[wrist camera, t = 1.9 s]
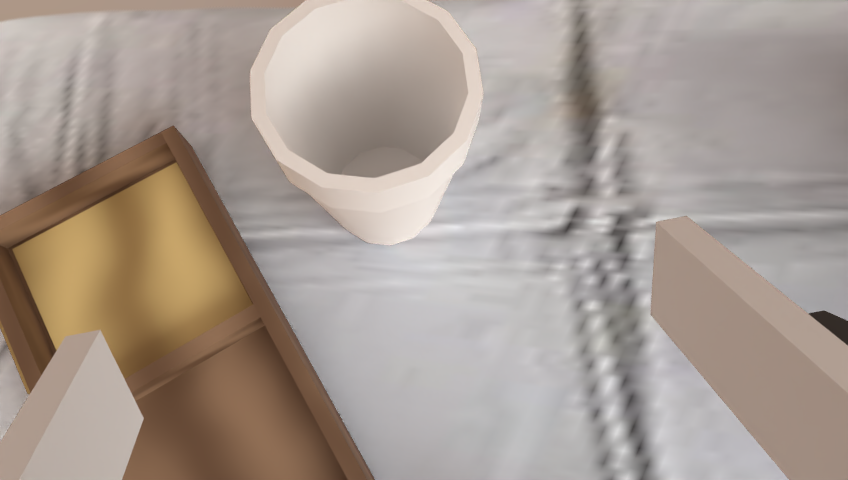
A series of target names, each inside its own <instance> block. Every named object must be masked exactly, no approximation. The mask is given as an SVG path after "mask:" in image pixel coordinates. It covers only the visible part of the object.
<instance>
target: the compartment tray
mask: <svg viewBox="0 0 848 480" xmlns="http://www.w3.org/2000/svg"><path fill="white" fill-rule="evenodd" d="M0 328H1V331H2V333H3V336H4V338H5V341H6V343H7V345H8V348H9V350H10V353H11V355H12V357H13V360H14V362H15V365H16V367H17V369H18V372H19V374H20V377H21V379H22V382H23V384H24V386H25V389H26V391H27V394H30V393H31V392H32V390H33V388H34V387H35V385H36V383H37V382H38V380H39V379H40V377H41V375H42V374H43V372H44V370H45V369H46V367H47V366H48V364H49V362H50V361H51V359H52V357H53V356H54V354H55V353H56V351H57V349H58V348H59V346H60V344H61V343H62V341H63V340H64V338H65V336H70V335H75V334H81V333H86V332H91V331H96V330H101V332H102V334H103V336H104V338H105V340H106V342H107V344H108V347H109V349H110V351H111V353H112V355H113V357H114V359H115V361H116V363H117V365H118V367H119V369H120V371H121V373H122V375H123V377H124V379H125V381H126V383H127V385H128V387H129V389H130V391H131V393H132V395H133V397H134V399H135V401H136V404H137V406H138V408H139V410H140V412H141V414H142V416H143V418H144V419H143V422H142V425H141V428H140V430H139V433H138V436H137V439H136V442H135V444H134V447H133V450H132V453H131V456H130V459H129V461H128V464H127V467H126V470H125V473H124V475H123V478H122V480H375V479H374V477H373V475H372V474H371V472H370V470H369V468H368V466H367V465H366V463H365V461H364V459H363V457H362V455H361V454H360V452H359V450H358V448H357V446H356V445H355V443H354V441H353V439H352V437H351V435H350V434H349V432H348V430H347V428H346V426H345V425H344V423H343V421H342V419H341V417H340V415H339V414H338V412H337V410H336V408H335V406H334V404H333V403H332V401H331V399H330V397H329V395H328V394H327V392H326V390H325V388H324V386H323V384H322V383H321V381H320V379H319V377H318V375H317V374H316V372H315V370H314V368H313V366H312V364H311V363H310V361H309V359H308V357H307V355H306V354H305V352H304V350H303V348H302V346H301V344H300V343H299V341H298V339H297V337H296V335H295V334H294V332H293V330H292V328H291V326H290V324H289V323H288V321H287V319H286V317H285V315H284V314H283V312H282V310H281V308H280V306H279V304H278V303H277V301H276V299H275V297H274V295H273V294H272V292H271V290H270V288H269V286H268V284H267V283H266V281H265V279H264V277H263V275H262V274H261V272H260V270H259V268H258V266H257V264H256V263H255V261H254V259H253V257H252V255H251V254H250V252H249V250H248V248H247V246H246V244H245V243H244V241H243V239H242V237H241V235H240V234H239V232H238V230H237V228H236V226H235V224H234V223H233V221H232V219H231V217H230V215H229V214H228V212H227V210H226V208H225V206H224V204H223V203H222V201H221V199H220V197H219V195H218V194H217V192H216V190H215V188H214V186H213V184H212V183H211V181H210V179H209V177H208V175H207V174H206V172H205V170H204V168H203V166H202V164H201V163H200V161H199V159H198V157H197V155H196V154H195V152H194V150H193V148H192V146H191V145H190V144H189V143H188V142H187V140H186V139H185V138H184V137H183V136H182V135H181V134H180V132H179V131H178V130H177V129H176V128H175V127H174V126H172V127H170V128H168V129H166V130H164V131H162V132H160V133H158V134H156V135H154V136H152V137H150V138H148V139H147V140H145V141H143V142H141V143H139V144H137V145H135V146H133V147H131V148H129V149H127V150H125V151H123V152H122V153H120V154H118V155H116V156H114V157H112V158H110V159H108V160H106V161H104V162H102V163H100V164H98V165H97V166H95V167H93V168H91V169H89V170H87V171H85V172H83V173H81V174H79V175H77V176H75V177H73V178H71V179H70V180H68V181H66V182H64V183H62V184H60V185H58V186H56V187H54V188H52V189H50V190H48V191H46V192H45V193H43V194H41V195H39V196H37V197H35V198H33V199H31V200H29V201H27V202H25V203H23V204H21V205H20V206H18V207H16V208H14V209H12V210H10V211H8V212H6V213H4V214H2V215H0Z"/></svg>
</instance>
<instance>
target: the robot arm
mask: <svg viewBox="0 0 848 480" xmlns="http://www.w3.org/2000/svg"><path fill="white" fill-rule="evenodd" d="M650 315H651V316H652V317H653V318H654V319H655V321H656V322H657V323H658V324H659V325H660V326H661V328H662V329H663V330H664V331H665V332H666V334H667V335H668V336H669V337H670V338H671V340H672V341H673V342H674V343H675V344H676V346H677V347H678V348H679V349H680V350H681V351H682V353H683V354H684V355H685V356H686V357H687V359H688V360H689V361H690V362H691V363H692V365H693V366H694V367H695V368H696V369H697V371H698V372H699V373H700V374H701V375H702V376H703V378H704V379H705V380H706V381H707V382H708V384H709V385H710V386H711V387H712V388H713V390H714V391H715V392H716V393H717V394H718V396H719V397H720V398H721V399H722V400H723V401H724V403H725V404H726V405H727V406H728V407H729V409H730V410H731V411H732V412H733V413H734V415H735V416H736V417H737V418H738V419H739V421H740V422H741V423H742V424H743V425H744V426H745V428H746V429H747V430H748V431H749V432H750V434H751V435H752V436H753V437H754V438H755V440H756V441H757V442H758V443H759V444H760V446H761V447H762V448H763V449H764V450H765V451H766V453H767V454H768V455H769V456H770V457H771V459H772V460H773V461H774V462H775V463H776V465H777V466H778V467H779V468H780V469H781V471H782V472H783V473H784V474H785V475H786V476H787V478H788V479H789V480H848V321H847V320H844V319H842V318H840V317H838V316H835V315H833V314H831V313H828V312H826V311H819V312H814V313H809V314H808V313H807V312H805V311H804V310H803V309H802V308H800V307H799V306H798V305H797V304H795V303H794V302H793V301H792V300H790V299H789V298H788V297H787V296H785V295H784V294H783V293H782V292H780V291H779V290H778V289H777V288H775V287H774V286H773V285H772V284H770V283H769V282H768V281H767V280H765V279H764V278H763V277H762V276H761V275H759V274H758V273H757V272H756V271H754V270H753V269H752V268H751V267H749V266H748V265H747V264H746V263H744V262H743V261H742V260H741V259H739V258H738V257H737V256H736V255H734V254H733V253H732V252H731V251H729V250H728V249H727V248H726V247H724V246H723V245H722V244H721V243H719V242H718V241H717V240H716V239H714V238H713V237H712V236H711V235H710V234H708V233H707V232H706V231H705V230H703V229H702V228H701V227H700V226H698V225H697V224H696V223H695V222H693V221H692V220H691V219H690V218H688V217H687V216H684V217H679V218H674V219H668V220H663V221H658V222H656V234H655V250H654V266H653V282H652V298H651V314H650ZM143 419H144V418H143V416H142V414H141V412H140V410H139V408H138V406H137V404H136V401H135V399H134V397H133V395H132V393H131V391H130V389H129V387H128V385H127V383H126V381H125V379H124V377H123V375H122V373H121V371H120V369H119V367H118V365H117V363H116V361H115V359H114V357H113V355H112V353H111V351H110V349H109V347H108V344H107V342H106V340H105V338H104V336H103V334H102V332H101V330H96V331H91V332H86V333H81V334H75V335H70V336H65V338H64V340H63V341H62V343H61V344H60V346H59V348H58V349H57V351H56V353H55V354H54V356H53V357H52V359H51V361H50V362H49V364H48V366H47V367H46V369H45V370H44V372H43V374H42V375H41V377H40V379H39V380H38V382H37V383H36V385H35V387H34V388H33V390H32V392H31V393H30V395H29V396H28V398H27V400H26V401H25V403H24V405H23V406H22V408H21V409H20V411H19V413H18V414H17V416H16V418H15V419H14V421H13V422H12V424H11V426H10V427H9V429H8V431H7V432H6V434H5V435H4V437H3V439H2V440H1V442H0V480H122V478H123V475H124V473H125V470H126V467H127V464H128V461H129V459H130V456H131V453H132V450H133V447H134V444H135V442H136V439H137V436H138V433H139V430H140V428H141V425H142V422H143Z"/></svg>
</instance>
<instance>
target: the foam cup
mask: <svg viewBox="0 0 848 480" xmlns="http://www.w3.org/2000/svg"><path fill="white" fill-rule="evenodd" d="M250 94H251V118H252V120H253V122H254V124H255V125H256V127H257V129H258V130H259V132H260V134H261V136H262V137H263V139H264V141H265V142H266V144H267V146H268V147H269V149H270V151H271V152H272V154H273V156H274V157H275V159H276V161H277V162H278V164H279V165H280V167H281V169H282V170H283V172H284V174H285V175H286V177H287V179H288V180H289V182H290V183H291V184H293V185H295V186H296V187H298V188H300V189H301V190H303V191H305V192H306V193H308V194H309V195H310V196H311V197H312V198H313V199H314V200H315V201H317V202H318V203H319V204H320V205H321V206H322V207H323V208H324V209H325V210H326V211H327V212H328V213H329V214H330V215H331V216H332V217H333V218H334V219H335V220H336V221H338V222H339V223H340V224H341V225H342V226H343V227H344V228H345V229H346V230H348V231H349V232H350V233H352V234H354V235H355V236H357V237H358V238H360V239H362V240H363V241H365V242H367V243H371V244H381V245H390V246H391V245H394V244H397V243H400V242H403V241H406V240H409V239H412V238H414V237H415V236H416V235H417V234H418V233H419V232H420V231H421V230H423V229H424V228H425V227H426V226H427V225H428V224H429V223H430V221H431V220H432V218H433V216H434V214H435V212H436V210H437V208H438V205H439V203H440V201H441V199H442V197H443V195H444V193H445V191H446V189H447V187H448V185H449V183H450V181H451V179H452V176H453V174H454V173H455V172H456V171H457V170H458V169H459V168H460V167H461V166H462V165H463V164H464V161H465V158H466V156H467V153H468V150H469V147H470V144H471V142H472V139H473V136H474V133H475V131H476V128H477V125H478V122H479V117H480V111H481V106H482V100H483V95H484V94H483V88H482V81H481V75H480V69H479V62H478V56H477V50H476V48H475V46H474V45H473V44H472V42H471V41H470V40H469V38H468V37H467V36H466V34H465V33H464V32H463V30H462V29H461V28H460V26H459V25H458V24H457V22H456V21H455V20H454V18H453V17H452V16H451V14H450V13H449V12H448V11H447V10H445V9H443V8H441V7H439V6H437V5H435V4H433V3H431V2H430V1H428V0H306V1H304V2H303V3H302V4H301V5H299V6H298V7H297V8H296V9H294V10H293V11H292V12H291V13H289V14H288V15H287V16H286V17H284V18H283V19H282V20H281V21H280V22H278V23H277V24H276V25H275V26H273V27H272V28H271V29H270V31H269V33H268V35H267V37H266V39H265V41H264V43H263V45H262V47H261V49H260V51H259V53H258V55H257V57H256V59H255V61H254V64H253V66H252V68H251V70H250Z"/></svg>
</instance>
